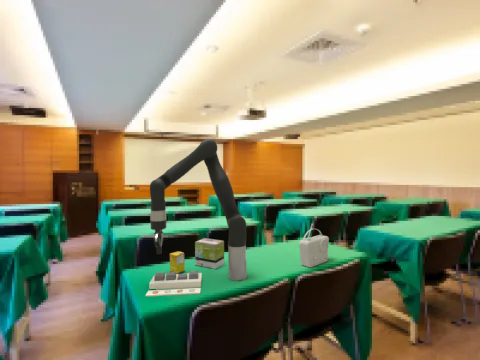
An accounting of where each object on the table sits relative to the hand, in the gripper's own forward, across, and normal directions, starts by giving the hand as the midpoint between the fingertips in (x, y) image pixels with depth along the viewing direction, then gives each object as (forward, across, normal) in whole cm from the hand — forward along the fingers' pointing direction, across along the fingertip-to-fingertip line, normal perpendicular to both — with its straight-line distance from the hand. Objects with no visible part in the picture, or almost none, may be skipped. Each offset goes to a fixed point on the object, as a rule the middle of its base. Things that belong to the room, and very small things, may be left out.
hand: (159, 253), depth 136 cm
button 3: (+13, 0, -6) cm, 15 cm away
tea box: (+16, +26, -25) cm, 39 cm away
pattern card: (+16, -10, -9) cm, 21 cm away
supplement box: (+16, +16, -7) cm, 24 cm away
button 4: (+13, 0, 0) cm, 13 cm away
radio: (+15, +20, -88) cm, 91 cm away
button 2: (+14, 0, -11) cm, 18 cm away
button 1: (+13, 0, -17) cm, 22 cm away
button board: (+16, 0, -9) cm, 18 cm away
